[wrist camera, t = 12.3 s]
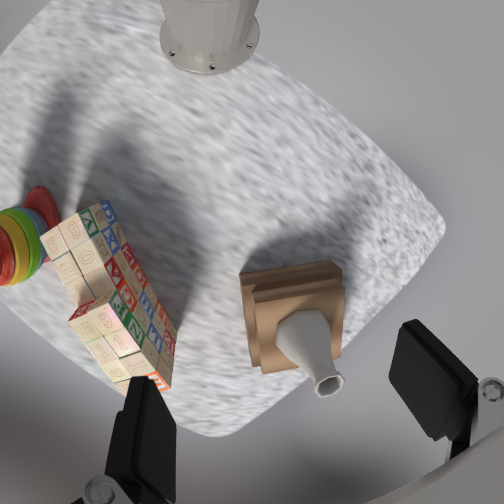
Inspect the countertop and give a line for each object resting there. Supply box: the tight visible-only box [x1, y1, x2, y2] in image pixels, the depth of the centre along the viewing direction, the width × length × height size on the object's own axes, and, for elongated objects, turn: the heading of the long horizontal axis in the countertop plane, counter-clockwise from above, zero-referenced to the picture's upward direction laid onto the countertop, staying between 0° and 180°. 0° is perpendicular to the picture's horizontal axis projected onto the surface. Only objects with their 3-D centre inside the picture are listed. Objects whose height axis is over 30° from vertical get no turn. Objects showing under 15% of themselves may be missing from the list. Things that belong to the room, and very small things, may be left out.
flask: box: [275, 310, 345, 398], centre depth 30 cm, size 7×7×10 cm
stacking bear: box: [0, 186, 60, 286], centre depth 24 cm, size 11×10×18 cm
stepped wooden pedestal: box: [239, 260, 345, 374], centre depth 38 cm, size 13×13×7 cm
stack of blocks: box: [40, 200, 177, 397], centre depth 31 cm, size 21×6×12 cm, turn 21°
